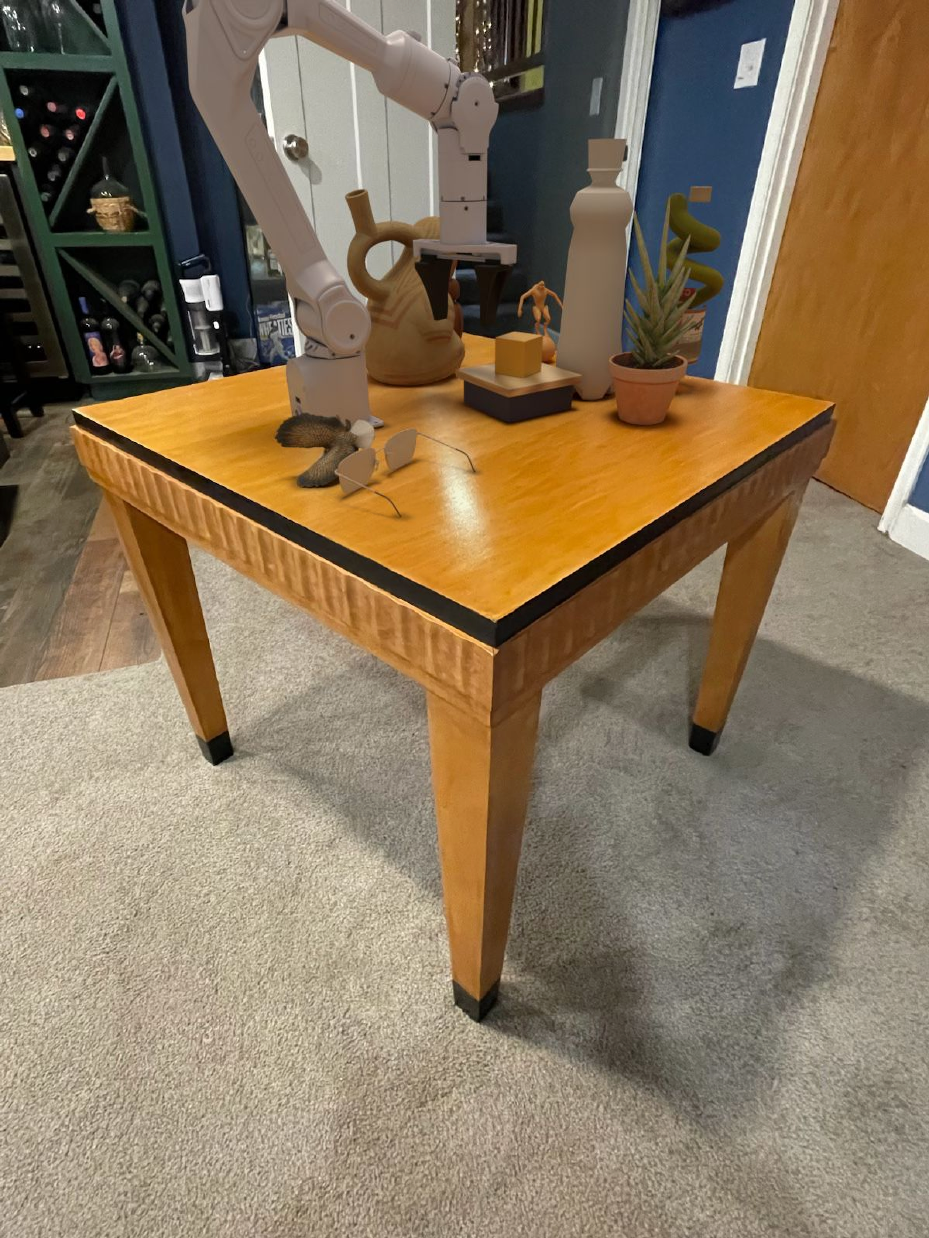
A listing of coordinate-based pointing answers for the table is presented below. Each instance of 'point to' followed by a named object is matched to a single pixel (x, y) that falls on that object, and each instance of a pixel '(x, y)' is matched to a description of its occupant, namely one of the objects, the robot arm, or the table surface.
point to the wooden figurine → (456, 306)
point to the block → (518, 354)
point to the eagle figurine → (324, 442)
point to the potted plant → (652, 340)
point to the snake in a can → (692, 267)
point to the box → (518, 391)
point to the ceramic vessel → (401, 303)
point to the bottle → (596, 273)
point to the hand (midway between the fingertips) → (463, 322)
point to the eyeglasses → (362, 462)
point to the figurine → (539, 298)
